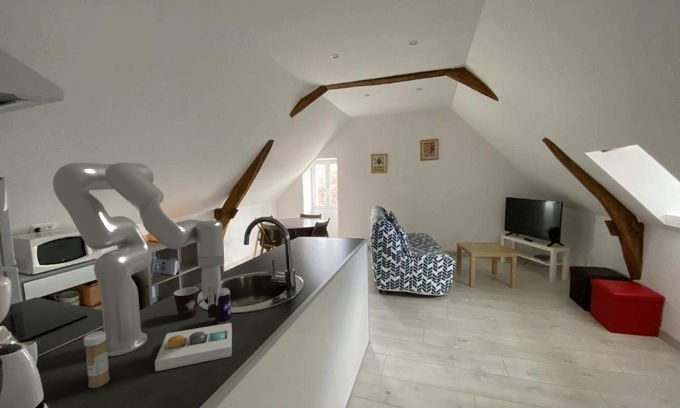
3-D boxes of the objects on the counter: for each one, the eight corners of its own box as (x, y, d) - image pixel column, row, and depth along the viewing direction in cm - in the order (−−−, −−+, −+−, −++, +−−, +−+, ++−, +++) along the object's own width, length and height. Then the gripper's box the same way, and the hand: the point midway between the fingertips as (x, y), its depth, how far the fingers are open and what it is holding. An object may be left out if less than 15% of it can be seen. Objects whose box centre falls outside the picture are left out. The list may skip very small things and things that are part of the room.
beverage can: (226, 325, 109) (224, 293, 108) (212, 323, 111) (210, 292, 109) (234, 318, 115) (232, 287, 114) (221, 316, 116) (219, 287, 115)
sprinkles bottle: (85, 385, 79) (80, 336, 77) (106, 375, 83) (101, 328, 81) (92, 391, 76) (87, 341, 75) (113, 380, 80) (109, 333, 79)
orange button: (166, 352, 90) (166, 344, 89) (169, 344, 94) (169, 336, 93) (183, 349, 91) (182, 341, 91) (185, 341, 95) (184, 334, 95)
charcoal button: (188, 348, 92) (188, 340, 91) (190, 340, 96) (190, 333, 95) (204, 345, 93) (204, 337, 93) (205, 337, 97) (205, 330, 97)
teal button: (210, 347, 94) (209, 339, 93) (211, 340, 98) (211, 333, 98) (225, 344, 95) (224, 337, 95) (225, 337, 99) (225, 330, 99)
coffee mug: (174, 322, 112) (172, 297, 111) (176, 313, 120) (174, 289, 119) (208, 316, 117) (206, 291, 116) (208, 307, 124) (206, 284, 124)
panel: (155, 371, 84) (154, 361, 83) (167, 342, 99) (167, 333, 98) (231, 356, 90) (230, 346, 90) (231, 330, 105) (231, 322, 105)
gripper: (200, 255, 99) (203, 308, 101) (195, 268, 85) (198, 329, 87) (224, 253, 102) (227, 305, 104) (223, 265, 88) (226, 325, 90)
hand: (214, 316), depth 95 cm, fingers closed
